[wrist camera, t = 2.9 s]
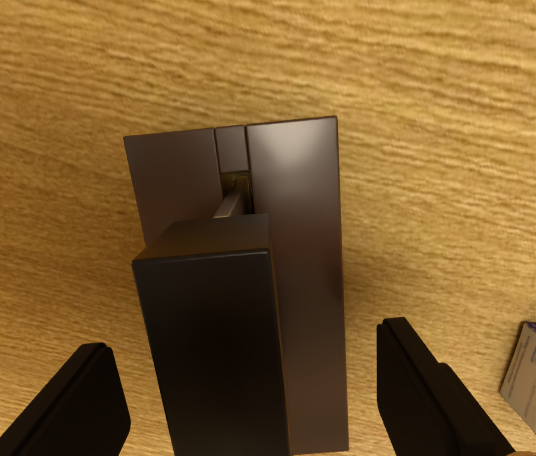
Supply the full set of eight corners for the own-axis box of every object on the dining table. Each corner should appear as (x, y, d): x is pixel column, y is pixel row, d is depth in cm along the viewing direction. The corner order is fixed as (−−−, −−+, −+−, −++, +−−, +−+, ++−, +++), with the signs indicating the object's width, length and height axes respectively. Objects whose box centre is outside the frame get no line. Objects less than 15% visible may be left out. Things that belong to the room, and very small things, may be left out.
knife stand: (336, 398, 17) (349, 451, 14) (203, 409, 18) (191, 463, 15) (322, 118, 13) (338, 115, 11) (152, 135, 14) (121, 136, 11)
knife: (287, 370, 17) (309, 646, 8) (244, 373, 17) (217, 652, 8) (268, 173, 14) (270, 248, 5) (217, 178, 14) (128, 261, 5)
